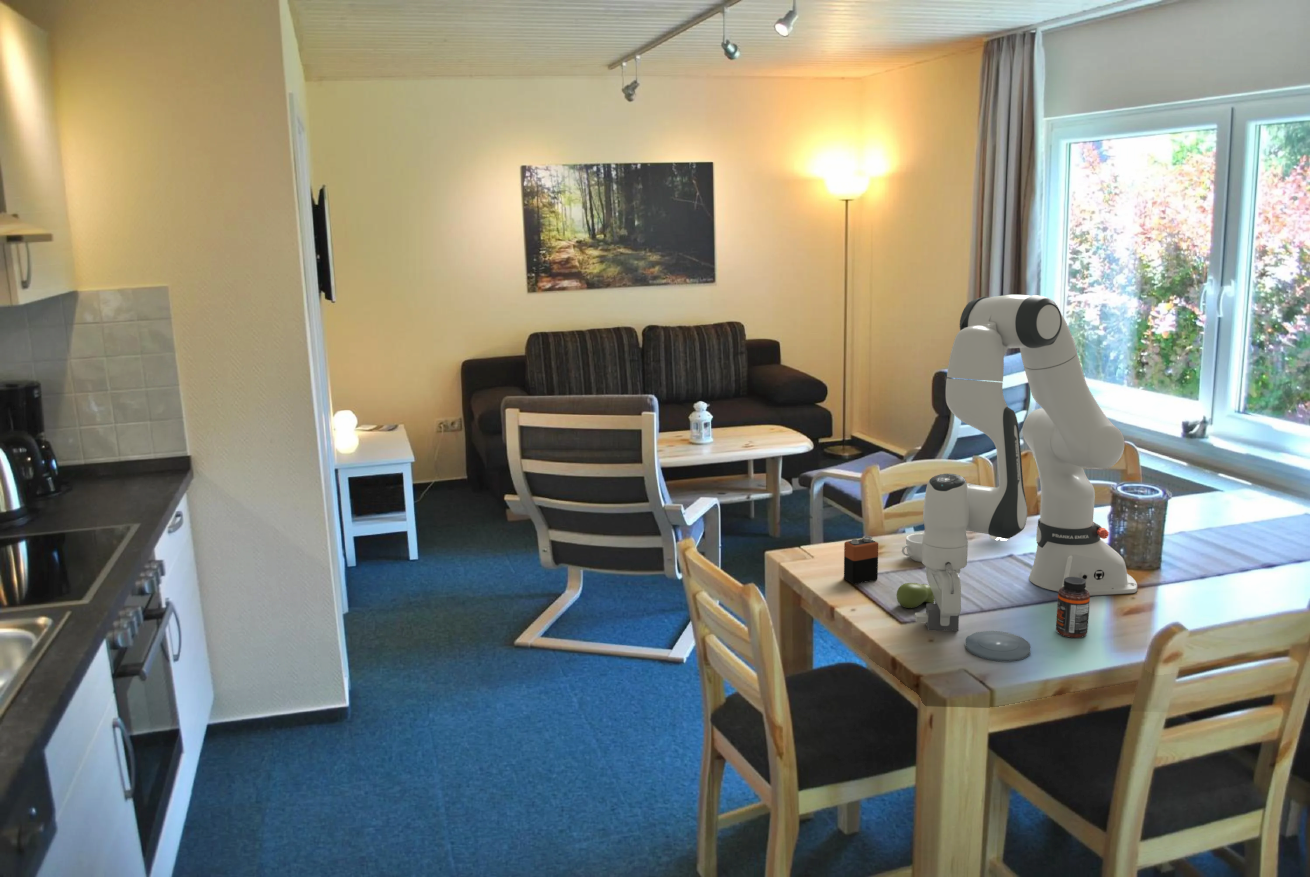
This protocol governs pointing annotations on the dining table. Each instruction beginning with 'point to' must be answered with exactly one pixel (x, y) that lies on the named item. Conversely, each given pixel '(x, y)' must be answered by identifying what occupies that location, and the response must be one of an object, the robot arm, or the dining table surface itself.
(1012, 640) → the plate
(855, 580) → the battery
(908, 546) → the teacup
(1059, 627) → the supplement bottle
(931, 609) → the block
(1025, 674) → the dining table surface
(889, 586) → the dining table surface
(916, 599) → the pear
